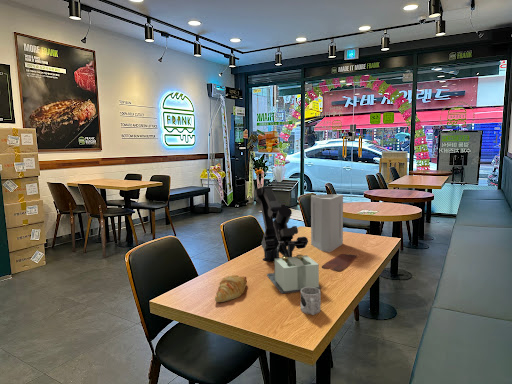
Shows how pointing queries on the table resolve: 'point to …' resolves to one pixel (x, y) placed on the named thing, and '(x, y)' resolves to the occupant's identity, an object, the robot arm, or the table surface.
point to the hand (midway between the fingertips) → (290, 262)
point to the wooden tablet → (339, 262)
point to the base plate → (272, 278)
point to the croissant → (230, 288)
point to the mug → (310, 300)
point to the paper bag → (327, 221)
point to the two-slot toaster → (296, 273)
